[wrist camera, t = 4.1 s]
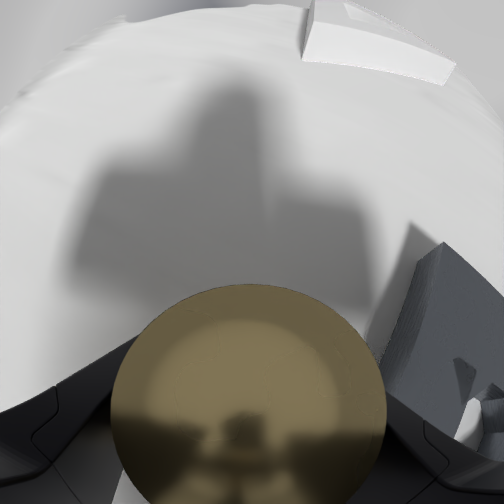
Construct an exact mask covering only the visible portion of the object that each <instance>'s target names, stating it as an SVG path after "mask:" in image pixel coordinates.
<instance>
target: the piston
mask: <svg viewBox="0 0 504 504" xmlns="http://www.w3.org/2000/svg"><path fill="white" fill-rule="evenodd" d="M386 419H387V405H386V395H385V388H384V384H383V380H382V376H381V373H380V370H379V368H378V365H377V363H376V361H375V358H374V356H373V355H372V353H371V351H370V349H369V348H368V346H367V344H366V343H365V341H364V340H363V339H362V337H361V336H360V335H359V334H358V332H357V331H356V330H355V329H354V328H353V327H352V326H351V325H350V324H349V323H348V322H347V321H346V320H345V319H344V318H343V317H341V316H340V315H339V314H338V313H336V312H335V311H334V310H333V309H331V308H329V307H328V306H326V305H324V304H323V303H321V302H319V301H318V300H316V299H313V298H311V297H309V296H307V295H304V294H302V293H299V292H296V291H293V290H289V289H286V288H281V287H275V286H270V285H258V284H243V285H230V286H225V287H219V288H214V289H211V290H208V291H204V292H201V293H198V294H196V295H193V296H191V297H189V298H187V299H184V300H182V301H180V302H179V303H177V304H175V305H174V306H172V307H170V308H169V309H167V310H166V311H164V312H163V313H162V314H161V315H159V316H158V317H157V318H156V319H154V320H153V321H152V322H151V323H150V324H149V325H148V326H147V327H146V328H145V329H144V330H143V331H142V332H141V333H140V334H139V336H138V337H137V338H136V340H135V341H134V343H133V344H132V345H131V347H130V348H129V350H128V352H127V353H126V355H125V357H124V359H123V361H122V363H121V365H120V368H119V370H118V373H117V376H116V379H115V382H114V386H113V392H112V397H111V410H110V421H111V429H112V437H113V441H114V444H115V448H116V452H117V454H118V457H119V459H120V461H121V464H122V466H123V468H124V470H125V472H126V473H127V475H128V477H129V478H130V480H131V481H132V483H133V485H134V486H135V487H136V488H137V490H138V491H139V492H140V493H141V494H142V495H143V497H144V498H145V499H146V500H147V501H148V502H149V503H150V504H345V503H346V502H347V501H348V500H349V499H350V498H351V497H352V496H353V495H354V494H355V493H356V492H357V490H358V489H359V488H360V486H361V485H362V484H363V482H364V481H365V480H366V478H367V477H368V475H369V473H370V471H371V470H372V468H373V466H374V464H375V462H376V459H377V457H378V454H379V452H380V449H381V446H382V442H383V438H384V434H385V427H386Z"/></svg>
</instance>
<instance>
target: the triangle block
mask: <svg viewBox="0 0 504 504" xmlns="http://www.w3.org/2000/svg"><path fill="white" fill-rule="evenodd" d="M301 61H312V62H324V63H333V64H342V65H349V66H356V67H363V68H369V69H375V70H380V71H385V72H390V73H395V74H400V75H404V76H408V77H413V78H417V79H420V80H424V81H428V82H432V83H435V84H438V85H442V86H443V85H444V83H445V82H446V80H447V79H448V77H449V75H450V74H451V72H452V71H453V69H454V67H455V66H456V64H457V63H456V62H454V61H453V60H452V59H450V58H449V57H448V56H446V55H445V54H443V53H442V52H441V51H439V50H437V49H436V48H435V47H433V46H432V45H430V44H429V43H427V42H426V41H424V40H423V39H421V38H419V37H418V36H416V35H415V34H413V33H411V32H410V31H408V30H406V29H405V28H403V27H401V26H399V25H397V24H396V23H394V22H392V21H390V20H388V19H386V18H385V17H383V16H381V15H379V14H376V13H375V12H373V11H371V10H369V9H367V8H364V7H362V6H360V5H358V4H356V3H353V2H351V1H349V0H312V2H311V5H310V9H309V14H308V21H307V27H306V34H305V41H304V47H303V54H302V60H301Z"/></svg>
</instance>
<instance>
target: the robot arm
mask: <svg viewBox="0 0 504 504" xmlns="http://www.w3.org/2000/svg"><path fill="white" fill-rule="evenodd" d="M138 336H139V335H137V336H136V337H134V338H132V339H131V340H129V341H127V342H126V343H124V344H122V345H121V346H119V347H118V348H116V349H114V350H113V351H111V352H109V353H108V354H106V355H104V356H103V357H101V358H99V359H98V360H96V361H94V362H93V363H91V364H89V365H88V366H86V367H84V368H83V369H81V370H79V371H78V372H76V373H74V374H73V375H71V376H69V377H68V378H66V379H64V380H63V381H61V382H59V383H58V384H56V386H52V387H51V388H49V389H47V390H46V391H44V392H42V393H40V394H39V395H37V396H35V397H33V398H31V399H30V400H27V401H25V402H23V403H21V404H19V405H17V406H15V407H12V408H10V409H8V410H5V411H3V412H1V413H0V504H112V501H113V498H114V495H115V491H116V488H117V485H118V482H119V479H120V476H121V473H122V470H123V466H122V464H121V461H120V459H119V457H118V454H117V452H116V448H115V444H114V441H113V437H112V429H111V421H110V410H111V397H112V392H113V386H114V382H115V379H116V376H117V373H118V370H119V368H120V365H121V363H122V361H123V359H124V357H125V355H126V353H127V352H128V350H129V348H130V347H131V345H132V344H133V343H134V341H135V340H136V338H137V337H138ZM385 395H386V405H387V419H386V427H385V434H384V438H383V442H382V446H381V449H380V452H379V454H378V457H377V459H376V462H375V464H374V466H373V468H372V470H371V471H370V473H369V475H368V477H367V478H366V480H365V481H364V482H363V484H362V485H361V486H360V488H359V489H358V490H357V492H356V493H355V494H354V495H353V496H352V497H351V498H350V499H349V500H348V501H347V502H346V503H345V504H504V461H495V460H492V459H489V458H487V457H485V456H483V455H481V454H479V453H478V452H476V451H474V450H472V449H470V448H469V447H467V446H465V445H463V444H462V443H460V442H458V441H457V440H455V439H453V438H452V437H450V436H448V435H447V434H445V433H444V432H442V431H441V430H439V429H438V428H436V427H435V426H433V425H432V424H431V423H429V422H428V421H426V420H423V418H422V417H421V416H419V415H418V414H417V413H415V412H414V411H413V410H411V409H410V408H408V407H407V406H406V405H404V404H403V403H402V402H400V401H399V400H398V399H396V398H395V397H394V396H392V395H391V394H389V393H388V392H387V391H385Z"/></svg>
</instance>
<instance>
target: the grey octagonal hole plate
mask: <svg viewBox="0 0 504 504" xmlns="http://www.w3.org/2000/svg"><path fill="white" fill-rule="evenodd" d="M378 368H379V370H380V373H381V376H382V380H383V384H384V388H385V391H387V392H388V393H389V394H391V395H392V396H394V397H395V398H396V399H398V400H399V401H400V402H402V403H403V404H404V405H406V406H407V407H408V408H410V409H411V410H413V411H414V412H415V413H417V414H418V415H419V416H421V417H422V418H423V420H426V421H428V422H429V423H431V424H432V425H433V426H435V427H436V428H438V429H439V430H441V431H442V432H444V433H445V434H447V435H448V436H450V437H452V438H453V439H454V436H455V434H456V432H457V429H458V426H459V424H460V421H461V419H462V416H463V413H464V410H465V408H466V405H467V402H468V401H469V400H471V399H472V398H473V397H475V398H476V399H478V400H479V401H480V402H481V408H482V416H483V425H484V436H483V438H482V441H481V444H480V446H479V449H478V451H477V452H478V453H479V454H481V455H483V456H485V457H487V458H489V459H492V460H495V461H504V297H503V296H502V295H501V294H500V293H499V292H498V291H497V290H496V289H495V288H494V287H493V286H492V285H491V284H490V283H489V282H488V281H487V280H486V279H485V278H484V277H483V276H482V275H481V274H480V273H479V272H477V271H476V270H475V269H474V268H473V267H472V266H471V265H470V264H469V263H468V262H467V261H465V260H464V259H463V258H462V257H461V256H460V255H459V254H458V253H456V252H455V251H454V250H453V249H452V248H451V247H450V246H448V245H447V244H446V243H445V242H443V243H441V244H440V245H439V246H437V247H436V248H435V249H434V250H432V251H431V252H430V253H428V254H427V255H426V256H424V257H423V258H422V259H420V260H419V261H418V264H417V267H416V270H415V273H414V276H413V280H412V283H411V286H410V289H409V292H408V294H407V297H406V300H405V303H404V306H403V308H402V311H401V314H400V316H399V319H398V322H397V324H396V327H395V329H394V332H393V334H392V336H391V339H390V341H389V344H388V346H387V348H386V351H385V353H384V355H383V357H382V360H381V362H380V364H379V366H378Z"/></svg>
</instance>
